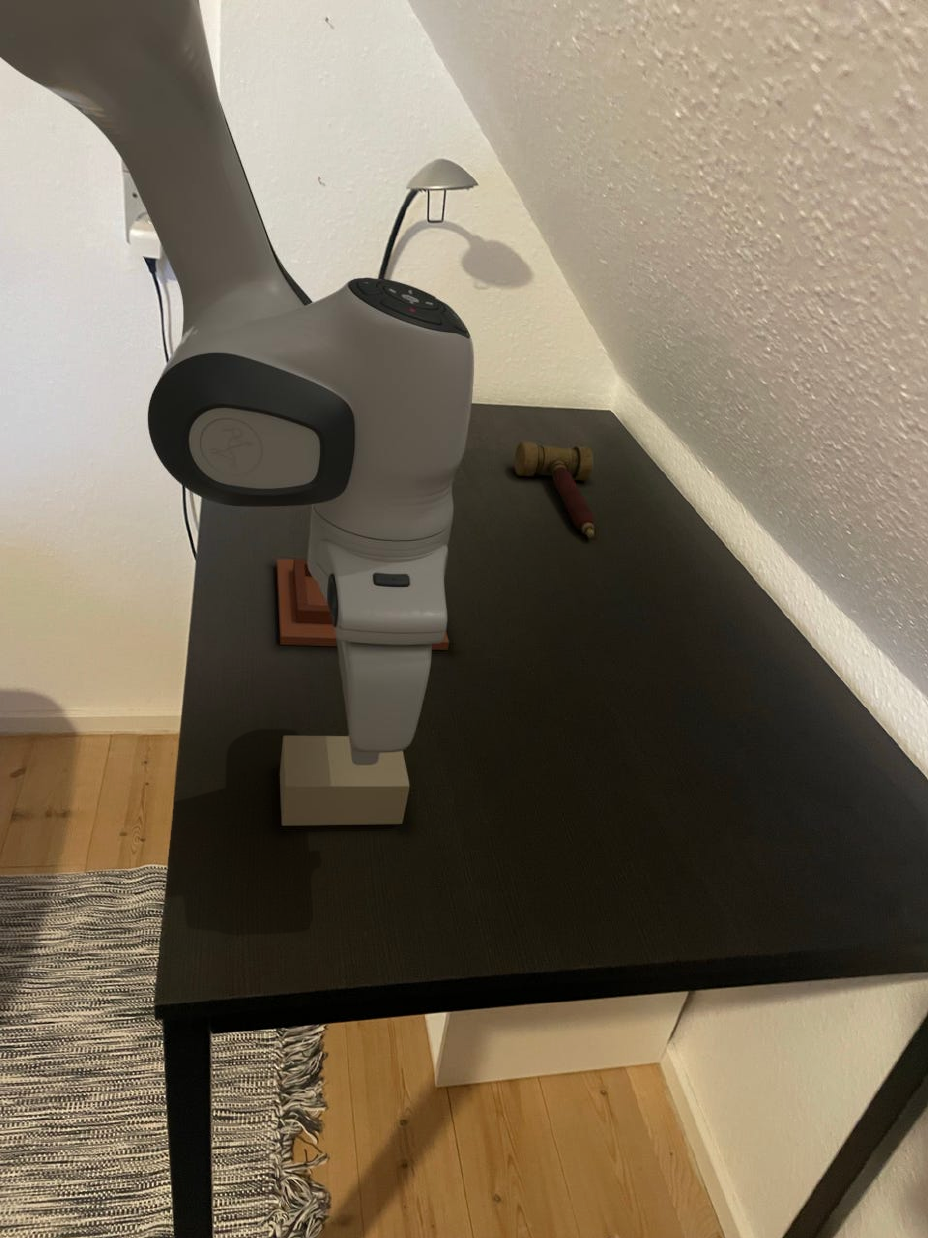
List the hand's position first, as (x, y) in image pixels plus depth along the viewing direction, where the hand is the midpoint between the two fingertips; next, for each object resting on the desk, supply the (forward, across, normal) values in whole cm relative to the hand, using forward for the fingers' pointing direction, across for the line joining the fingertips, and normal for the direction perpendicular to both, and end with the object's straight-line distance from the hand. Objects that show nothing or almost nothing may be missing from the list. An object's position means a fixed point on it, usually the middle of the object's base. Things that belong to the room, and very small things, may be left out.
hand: (356, 713), depth 68 cm
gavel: (+9, -54, +34) cm, 64 cm away
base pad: (+8, -27, +4) cm, 29 cm away
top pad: (+8, 0, 0) cm, 9 cm away
